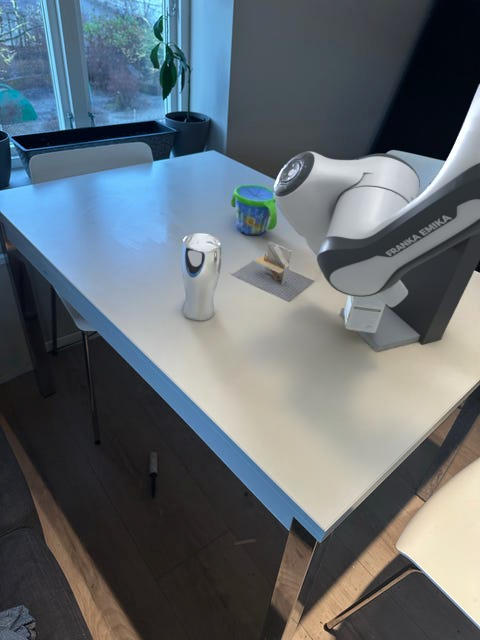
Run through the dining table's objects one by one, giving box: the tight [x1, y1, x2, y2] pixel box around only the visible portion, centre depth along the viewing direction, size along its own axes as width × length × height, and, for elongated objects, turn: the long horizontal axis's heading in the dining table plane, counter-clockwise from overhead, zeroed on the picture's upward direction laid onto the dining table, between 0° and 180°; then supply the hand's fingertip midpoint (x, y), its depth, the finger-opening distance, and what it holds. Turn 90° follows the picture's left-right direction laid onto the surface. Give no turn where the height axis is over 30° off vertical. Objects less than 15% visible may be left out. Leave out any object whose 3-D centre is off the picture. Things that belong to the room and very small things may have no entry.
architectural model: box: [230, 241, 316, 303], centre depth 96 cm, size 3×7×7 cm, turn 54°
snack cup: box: [230, 184, 278, 236], centre depth 114 cm, size 16×10×10 cm
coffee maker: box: [339, 182, 480, 353], centre depth 81 cm, size 15×14×27 cm
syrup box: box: [343, 295, 385, 333], centre depth 79 cm, size 6×6×14 cm
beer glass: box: [181, 232, 223, 322], centre depth 81 cm, size 7×7×15 cm
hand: (373, 284), depth 79 cm, fingers closed on syrup box, 7 cm apart
